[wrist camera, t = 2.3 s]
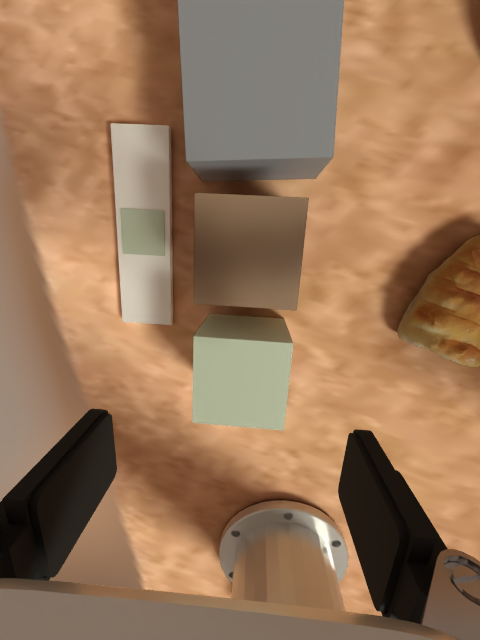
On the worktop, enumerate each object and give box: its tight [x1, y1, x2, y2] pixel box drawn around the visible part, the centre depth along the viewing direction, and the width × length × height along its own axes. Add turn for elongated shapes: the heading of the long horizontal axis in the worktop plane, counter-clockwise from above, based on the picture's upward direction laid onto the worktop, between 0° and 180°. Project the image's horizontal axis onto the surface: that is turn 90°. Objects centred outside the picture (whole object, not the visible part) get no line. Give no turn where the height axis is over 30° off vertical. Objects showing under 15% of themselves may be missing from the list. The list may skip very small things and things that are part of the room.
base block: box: [178, 0, 344, 182], centre depth 16 cm, size 8×8×5 cm
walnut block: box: [194, 193, 309, 310], centre depth 18 cm, size 6×6×6 cm
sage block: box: [193, 314, 293, 430], centre depth 20 cm, size 6×6×6 cm
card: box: [111, 123, 173, 325], centre depth 21 cm, size 14×4×1 cm, turn 177°
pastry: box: [397, 235, 480, 367], centre depth 19 cm, size 9×7×4 cm
